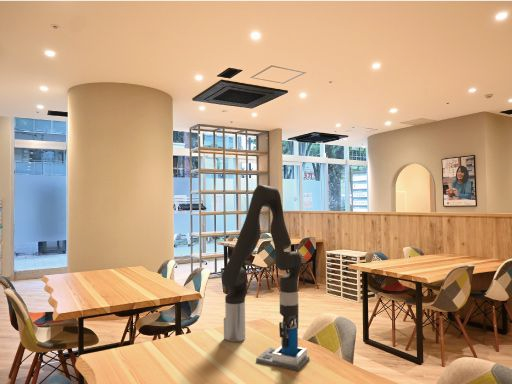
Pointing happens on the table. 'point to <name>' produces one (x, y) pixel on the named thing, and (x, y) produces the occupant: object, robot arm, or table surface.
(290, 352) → the beverage can
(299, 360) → the grey and white device
